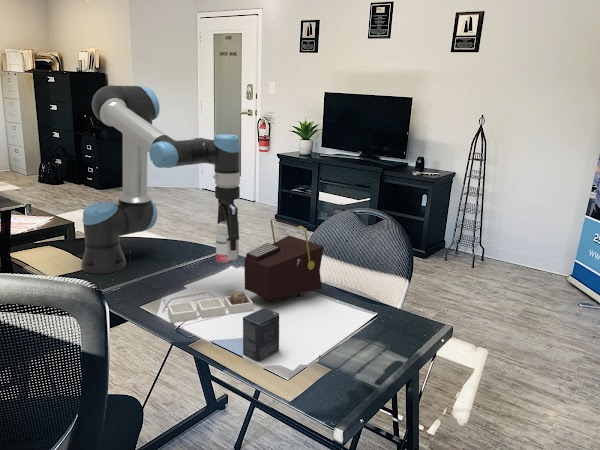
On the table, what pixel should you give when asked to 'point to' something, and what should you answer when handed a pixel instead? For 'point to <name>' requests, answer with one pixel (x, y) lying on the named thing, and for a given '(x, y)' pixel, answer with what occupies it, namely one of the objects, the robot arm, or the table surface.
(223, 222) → the ink box
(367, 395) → the table surface
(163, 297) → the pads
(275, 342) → the box
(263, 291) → the brown boxy machine
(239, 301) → the letter cube
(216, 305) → the bins
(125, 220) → the robot arm
